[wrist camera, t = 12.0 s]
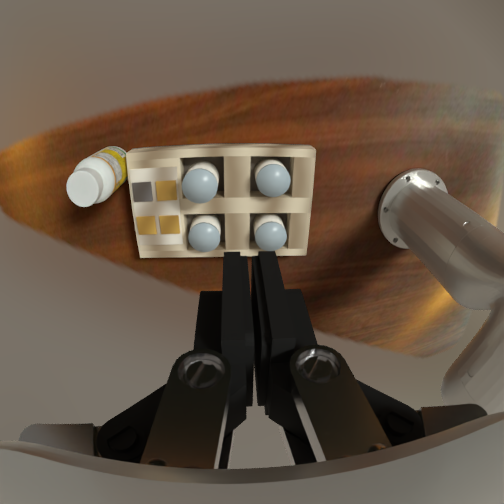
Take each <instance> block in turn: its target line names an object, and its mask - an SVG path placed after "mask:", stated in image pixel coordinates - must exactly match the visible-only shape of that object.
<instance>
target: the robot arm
mask: <svg viewBox="0 0 504 504" xmlns="http://www.w3.org/2000/svg"><path fill="white" fill-rule="evenodd" d="M378 222H379V226H380V229H381V232H382V233H383V235H384V236H385V237H386V239H387V240H388V241H389V242H390V243H391V244H393V245H395V246H397V247H399V248H404V249H411V251H412V252H413V253H414V254H415V255H416V256H417V257H418V258H419V259H420V260H421V262H422V263H423V264H424V265H425V266H426V267H427V268H428V269H429V271H430V272H431V273H432V274H433V275H434V276H435V278H436V279H437V280H438V281H439V282H440V283H441V285H442V286H443V287H444V288H445V289H446V291H447V292H448V293H449V294H450V295H451V296H452V298H453V299H454V300H455V301H456V302H457V303H459V304H460V305H462V306H464V307H466V308H469V309H473V310H491V312H490V314H489V316H488V318H487V319H486V321H485V322H484V324H483V325H482V327H481V329H480V330H479V331H478V333H477V334H476V335H475V336H474V338H473V339H472V340H471V342H470V343H469V344H468V345H467V347H466V348H465V349H464V350H463V352H462V353H461V354H460V355H459V357H458V358H457V359H456V360H455V362H454V363H453V364H452V365H451V367H450V368H449V369H448V371H447V372H446V374H445V376H444V378H443V381H442V386H441V395H442V399H443V402H444V405H445V406H433V407H421V408H420V409H419V410H414V409H412V408H411V407H409V406H408V405H406V404H404V403H402V402H400V401H398V400H396V399H394V398H392V397H390V396H388V395H386V394H384V393H382V392H380V391H378V390H376V389H374V388H372V387H370V386H368V385H366V384H364V383H362V382H360V381H358V380H356V379H355V377H354V375H353V373H352V372H351V370H350V368H349V366H348V364H347V363H346V361H345V359H344V358H343V357H342V355H341V354H340V353H339V352H337V351H336V350H334V349H333V348H330V347H328V346H324V345H318V344H317V341H316V338H315V334H314V331H313V328H312V324H311V321H310V318H309V314H308V311H307V308H306V305H305V301H304V298H303V295H302V292H301V290H300V289H284V284H283V280H282V276H281V272H280V268H279V264H278V260H277V256H276V252H275V251H258V256H252V276H251V296H250V284H249V273H248V262H247V256H241V255H240V252H224V260H223V287H222V291H201V292H200V298H199V306H198V315H197V322H196V331H195V340H194V349H193V350H191V351H188V352H186V353H184V354H182V355H181V356H180V357H179V358H178V359H176V361H175V363H174V364H173V366H172V369H171V372H170V375H169V378H168V380H167V383H166V384H165V385H163V386H162V387H160V388H159V389H157V390H156V391H154V392H153V393H151V394H150V395H148V396H147V397H145V398H144V399H142V400H140V401H139V402H137V403H136V404H134V405H133V406H131V407H130V408H128V409H126V410H125V411H123V412H122V413H120V414H118V415H117V416H115V417H114V418H112V419H110V420H109V421H107V422H106V423H105V424H104V425H103V426H94V424H93V423H88V424H33V425H30V426H28V427H26V428H25V429H24V430H23V432H22V433H21V434H20V438H19V441H0V504H504V233H503V232H502V231H500V230H499V229H498V228H496V227H495V226H493V225H492V224H491V223H489V222H488V221H487V220H485V219H484V218H482V217H481V216H480V215H478V214H477V213H475V212H474V211H473V210H471V209H470V208H468V207H467V206H465V205H464V204H462V203H461V202H459V201H458V200H456V199H455V198H453V197H452V196H450V195H449V194H448V192H447V189H446V186H445V184H444V183H443V181H442V180H441V179H440V178H439V177H438V176H437V175H436V174H434V173H433V172H431V171H428V170H426V169H420V168H416V169H410V170H407V171H405V172H403V173H401V174H399V175H398V176H397V177H396V178H394V179H393V180H392V181H391V183H390V184H389V185H388V186H387V188H386V189H385V191H384V193H383V195H382V197H381V200H380V203H379V208H378ZM254 368H255V380H256V391H257V403H258V406H264V407H265V415H269V418H270V419H271V420H273V421H274V422H276V423H277V424H279V430H280V433H281V436H282V440H283V443H284V446H285V449H286V452H287V455H288V458H289V461H290V464H291V466H281V467H269V468H252V469H229V468H230V461H231V454H232V448H233V442H234V435H235V428H236V427H238V426H239V425H240V424H241V423H242V422H243V421H244V420H245V419H246V406H252V403H253V371H254Z"/></svg>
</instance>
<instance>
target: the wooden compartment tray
mask: <svg viewBox="0 0 504 504" xmlns="http://www.w3.org/2000/svg"><path fill="white" fill-rule="evenodd" d="M266 157H273V158H276V159H278V160H280V161H281V162H282V164H283V165H284V167H285V168H286V170H287V171H288V173H289V175H290V186H289V188H288V190H287V191H286V192H285V193H284V194H282V195H280V196H278V197H268V196H266V195H264V194H262V193H261V192H260V190H259V189H258V187H257V183H256V179H255V175H254V169H255V166H256V164H257V163H258V162H259V161H260V160H261V159H263V158H266ZM315 157H316V149H315V148H313V147H312V146H311V145H298V144H265V143H225V144H192V145H173V146H158V147H145V148H134V149H132V150H130V151H129V152H127V153H126V161H127V171H128V180H129V188H130V196H131V204H132V211H133V218H134V224H135V231H136V237H137V243H138V248H139V254H140V258H166V257H224V252H240V255H241V256H258V251H265V250H263V249H261V248H260V247H259V246H258V245H257V243H256V240H255V234H254V227H253V221H254V218H255V217H256V215H257V214H259V213H278V214H279V215H280V217H281V219H282V222H283V225H284V228H285V231H286V234H287V239H286V242H285V244H284V245H283V246H282V247H281V248H280V249H278V250H275V252H276V256H295V255H306V252H307V243H308V234H309V225H310V215H311V204H312V194H313V182H314V170H315ZM198 161H207V162H210V163H212V164H213V165H214V166H215V167H216V168H217V170H218V172H219V182H218V188H217V192H216V195H215V196H214V197H213V199H211V200H210V201H208V202H206V203H201V204H199V203H194V202H191V201H190V200H188V199H187V198H186V197H185V195H184V194H183V191H182V181H183V179H184V177H185V175H186V173H187V171H188V170H189V168H190V167H191V165H193V164H194V163H196V162H198ZM196 214H216V215H217V216H218V217H219V219H220V221H221V232H220V242H219V244H218V246H217V247H216V248H215V249H214V250H212V251H209V252H200V251H197V250H195V249H194V248H193V247H192V246H191V245H190V243H189V239H188V236H189V232H190V228H191V224H192V221H193V218H194V217H195V215H196Z"/></svg>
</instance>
